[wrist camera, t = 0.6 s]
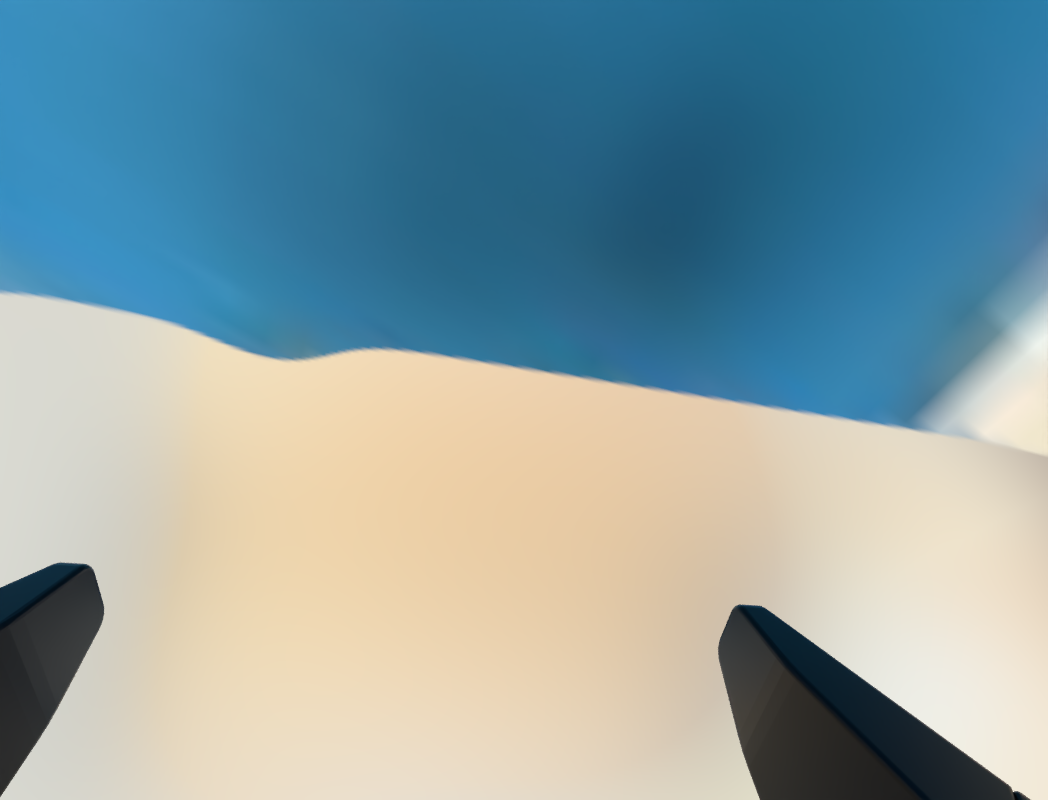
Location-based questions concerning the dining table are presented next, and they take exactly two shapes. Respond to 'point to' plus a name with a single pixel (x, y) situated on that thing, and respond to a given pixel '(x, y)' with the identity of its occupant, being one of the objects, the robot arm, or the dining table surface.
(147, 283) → the dining table surface
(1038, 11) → the dining table surface
